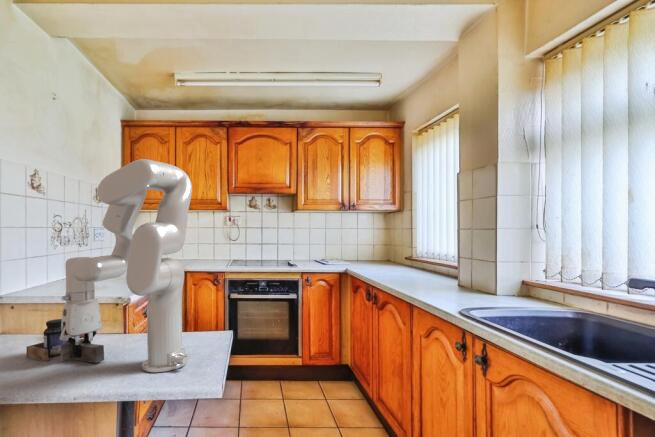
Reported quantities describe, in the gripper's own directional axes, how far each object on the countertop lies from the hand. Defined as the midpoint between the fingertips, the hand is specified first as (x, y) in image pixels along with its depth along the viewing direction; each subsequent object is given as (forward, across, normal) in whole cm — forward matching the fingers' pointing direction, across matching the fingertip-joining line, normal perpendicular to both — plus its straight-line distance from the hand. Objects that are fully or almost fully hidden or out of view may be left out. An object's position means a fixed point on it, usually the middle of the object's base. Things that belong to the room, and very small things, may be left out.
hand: (81, 355), depth 120 cm
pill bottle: (+1, 0, +13) cm, 13 cm away
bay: (+1, 0, +13) cm, 13 cm away
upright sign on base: (+1, 0, -1) cm, 2 cm away
